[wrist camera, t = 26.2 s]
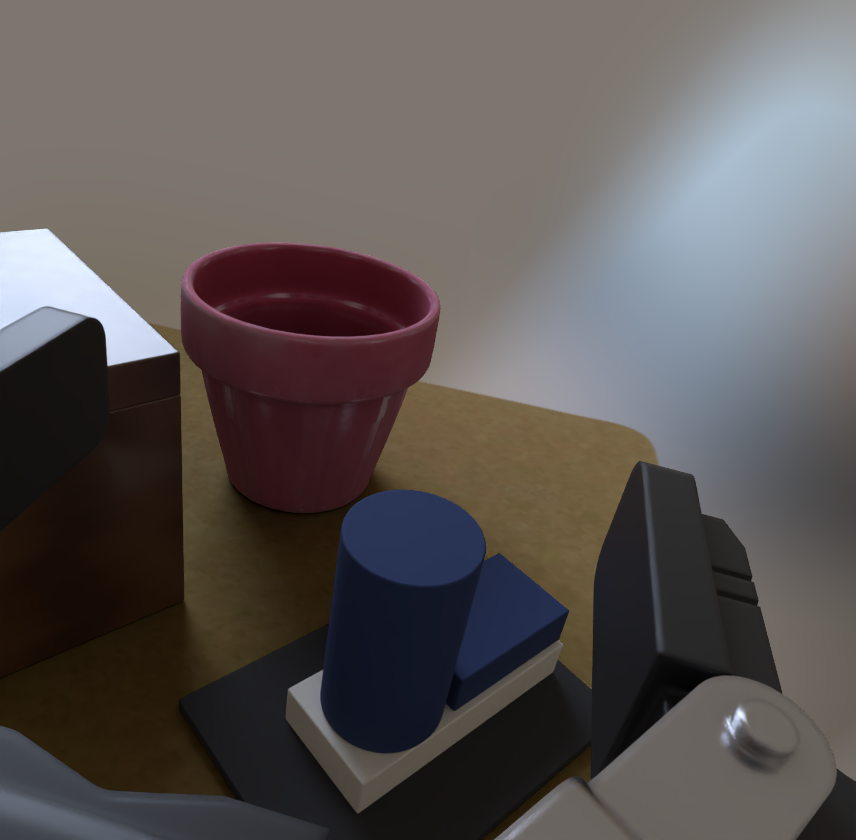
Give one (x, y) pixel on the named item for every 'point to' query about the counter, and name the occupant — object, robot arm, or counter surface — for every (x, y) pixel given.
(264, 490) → the flower pot
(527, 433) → the counter surface
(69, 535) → the shoe bench
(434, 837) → the shoe mat
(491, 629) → the boot
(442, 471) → the counter surface
